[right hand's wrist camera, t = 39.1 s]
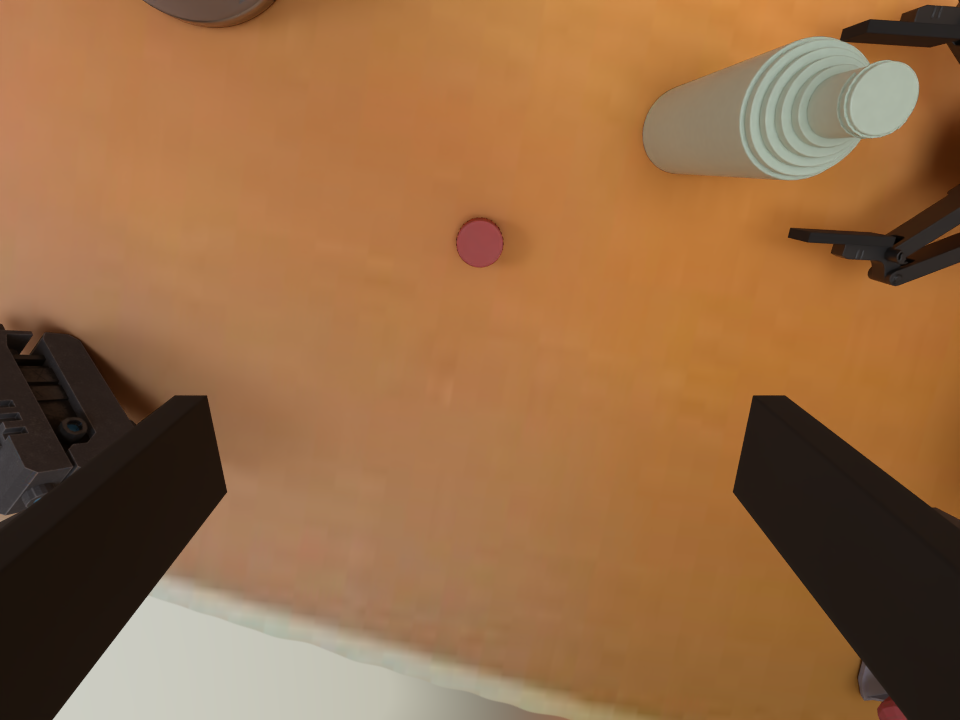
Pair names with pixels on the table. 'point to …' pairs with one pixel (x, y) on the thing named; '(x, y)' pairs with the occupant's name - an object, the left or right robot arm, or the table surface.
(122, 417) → the tool
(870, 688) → the hand plane
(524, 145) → the table surface
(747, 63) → the bottle
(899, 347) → the table surface
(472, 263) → the cap
